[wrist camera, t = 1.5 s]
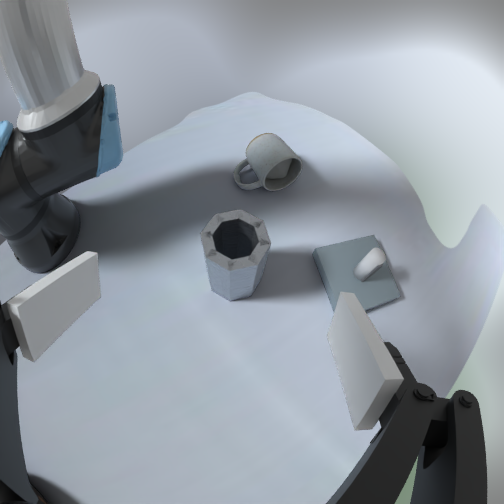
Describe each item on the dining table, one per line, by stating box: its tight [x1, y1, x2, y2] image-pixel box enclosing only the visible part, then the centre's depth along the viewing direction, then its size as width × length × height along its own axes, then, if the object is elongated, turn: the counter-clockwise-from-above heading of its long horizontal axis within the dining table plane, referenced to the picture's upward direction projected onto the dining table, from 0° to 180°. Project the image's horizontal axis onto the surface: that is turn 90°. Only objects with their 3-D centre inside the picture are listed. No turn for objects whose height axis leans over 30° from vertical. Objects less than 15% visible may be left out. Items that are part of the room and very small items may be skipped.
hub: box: [200, 209, 271, 301], centre depth 35 cm, size 7×7×11 cm
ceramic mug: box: [234, 133, 303, 191], centre depth 46 cm, size 11×8×8 cm
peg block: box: [312, 235, 401, 312], centre depth 38 cm, size 11×11×8 cm
